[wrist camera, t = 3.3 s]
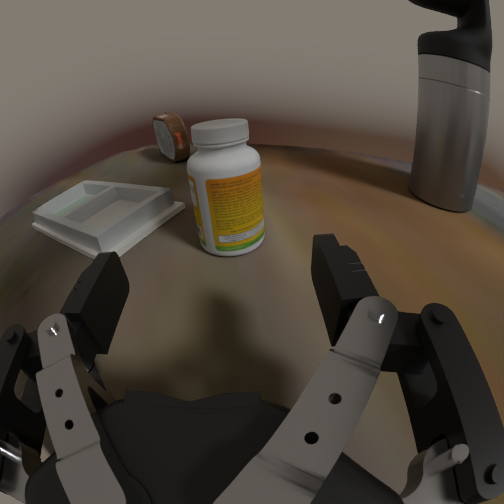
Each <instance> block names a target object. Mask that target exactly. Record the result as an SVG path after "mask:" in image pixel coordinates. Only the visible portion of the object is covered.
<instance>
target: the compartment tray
mask: <svg viewBox="0 0 504 504" xmlns="http://www.w3.org/2000/svg"><path fill="white" fill-rule="evenodd" d="M183 209H185V203H183V202H176V201H174V198H173V193H172V188H164V187H155V186H145V185H135V184H124V183H113V182H100V181H86V180H85V181H83V182H81V183H79V184H77V185H76V186H74V187H72V188H70V189H69V190H67V191H65V192H63V193H62V194H60V195H58V196H57V197H55V198H53V199H52V200H50V201H49V202H47V203H45V204H44V205H42V206H41V207H39V208H37V209H36V210H34V211H33V212H32V214H33V216H34V219H35V221H36V222H34V223H33V224H32V226H33V228H34V229H36V230H38V231H40V232H42V233H43V234H45V235H47V236H49V237H51V238H53V239H54V240H56V241H58V242H60V243H62V244H64V245H66V246H68V247H70V248H72V249H74V250H76V251H78V252H80V253H82V254H84V255H86V256H88V257H90V258H92V259H95V258H96V256H97V254H98V253H102V252H113V251H115V252H116V253H117V254H118V256H119V257H120V256H122V255H123V254H124V253H125V252H127V251H128V250H129V249H130V248H132V247H133V246H134V245H136V244H137V243H138V242H140V241H141V240H142V239H143V238H145V237H146V236H147V235H149V234H150V233H151V232H153V231H154V230H155V229H157V228H158V227H160V226H161V225H162V224H164V223H165V222H166V221H168V220H169V219H170V218H172V217H173V216H175V215H176V214H177V213H179V212H180V211H182V210H183Z"/></svg>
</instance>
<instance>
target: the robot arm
mask: <svg viewBox="0 0 504 504" xmlns="http://www.w3.org/2000/svg"><path fill="white" fill-rule="evenodd" d="M409 1H410V2H412V3H413V4H415V5H418V6H421V7H423V8H426V9H430V10H434V11H437V12H441V13H445V14H448V15H451V16H455V17H457V19H458V20H457V21H458V22H457V23H458V24H457V29H454V30H449V31H434V32H427V33H424V34H421V35H420V36H419V38H418V64H419V88H418V111H417V126H416V136H415V146H414V155H413V161H412V169H411V175H410V182H409V188H410V190H411V191H412V193H413V194H415V195H416V196H417V197H419V198H420V199H422V200H424V201H426V202H428V203H430V204H432V205H435V206H437V207H440V208H443V209H447V210H451V211H458V212H464V211H468V210H470V209H471V207H472V204H473V200H474V197H475V193H476V188H477V184H478V180H479V175H480V171H481V165H482V160H483V154H484V148H485V141H486V134H487V125H488V115H489V101H490V98H489V97H490V60H491V53H492V30H491V18H490V7H489V0H409ZM311 275H312V281H313V285H314V288H315V291H316V295H317V298H318V301H319V305H320V308H321V311H322V315H323V318H324V322H325V325H326V329H327V332H328V336H329V339H330V343H331V346H335V347H334V348H333V349H330V350H329V351H328V353H327V354H326V356H325V357H324V359H323V361H322V363H321V364H320V366H319V367H318V369H317V371H316V372H315V374H314V376H313V377H312V379H311V380H310V382H309V384H308V385H307V387H306V388H305V390H304V391H303V393H302V394H301V396H300V397H299V399H298V400H297V402H296V403H295V405H294V406H293V408H292V409H291V410H290V409H288V408H286V407H284V406H282V405H279V404H276V403H273V402H269V401H263V400H261V394H260V392H245V393H224V394H220V395H216V396H212V397H208V398H203V399H199V400H195V401H183V400H180V399H176V398H173V397H169V396H166V395H162V394H159V393H156V392H143V391H132V390H126V393H125V398H124V399H122V400H119V401H115V399H114V398H113V396H112V394H111V392H110V390H109V388H108V386H107V383H106V381H105V379H104V376H103V374H102V372H101V369H100V367H99V364H98V362H97V361H96V360H95V357H96V354H108V350H109V347H110V344H111V341H112V338H113V335H114V332H115V330H116V327H117V324H118V321H119V318H120V316H121V313H122V310H123V307H124V305H125V302H126V299H127V297H128V294H129V281H128V278H127V276H126V273H125V271H124V268H123V266H122V263H121V261H120V258H119V256H118V254H117V253H116V252H115V251H113V252H102V253H98V254H97V256H96V258H95V259H94V261H93V262H92V264H91V265H90V266H89V267H88V268H87V269H86V270H84V271H83V272H82V274H81V275H80V277H79V279H78V280H77V283H76V284H75V286H74V287H73V290H72V291H71V293H70V294H69V296H68V298H67V300H66V302H65V304H64V305H63V307H62V309H61V311H60V313H59V314H53V315H50V316H49V317H47V318H46V319H45V320H44V321H43V322H42V323H41V324H40V326H39V328H38V331H34V332H30V333H27V332H26V331H25V329H24V328H23V327H22V326H21V325H19V324H16V325H13V326H11V327H10V328H8V329H7V330H6V332H5V333H4V334H3V336H2V338H1V340H0V491H1V492H3V493H5V494H8V495H10V496H12V497H14V498H15V499H17V500H19V501H21V502H23V503H25V504H478V503H481V502H485V501H488V500H491V499H494V498H496V497H498V496H500V495H501V494H502V493H503V492H504V428H503V425H502V422H501V418H500V415H499V412H498V410H497V407H496V404H495V401H494V398H493V396H492V393H491V391H490V388H489V385H488V383H487V381H486V378H485V376H484V373H483V371H482V369H481V366H480V364H479V362H478V360H477V358H476V355H475V353H474V351H473V349H472V347H471V345H470V343H469V341H468V339H467V337H466V335H465V333H464V331H463V329H462V327H461V325H460V324H459V322H458V320H457V318H456V316H455V315H454V313H453V312H452V311H451V310H450V309H449V308H448V307H446V306H444V305H442V304H438V303H431V304H428V305H426V306H425V307H424V308H423V309H422V311H421V313H420V314H415V313H405V312H399V311H397V309H396V308H395V306H394V305H393V304H392V303H391V302H390V301H388V300H386V299H384V298H382V297H379V295H378V293H377V291H376V289H375V287H374V285H373V283H372V281H371V279H370V277H369V275H368V274H367V272H366V271H365V268H364V266H363V264H362V263H361V261H360V259H359V257H358V255H357V253H356V252H355V251H353V250H352V249H351V248H350V247H348V246H347V245H345V246H340V245H339V243H338V241H337V239H336V238H335V236H334V234H321V235H314V237H313V248H312V262H311ZM20 369H21V370H22V371H23V372H24V373H25V374H26V375H27V376H28V380H27V383H26V386H25V389H24V393H23V396H22V399H21V401H20V400H19V399H17V397H16V396H15V393H14V386H15V383H16V380H17V377H18V374H19V371H20ZM380 371H386V372H397V374H398V378H399V381H400V384H401V388H402V391H403V395H404V398H405V402H406V406H407V409H408V413H409V417H410V421H411V425H412V429H413V434H414V438H415V442H416V447H417V452H418V454H417V455H416V456H415V457H414V458H413V459H412V461H411V462H410V464H409V467H408V472H407V484H406V486H405V488H404V490H403V492H402V493H401V494H400V495H398V494H397V493H396V492H395V491H394V490H392V489H391V488H390V487H388V486H387V485H385V484H384V483H383V482H381V481H380V480H378V479H377V478H376V477H374V476H373V475H372V474H370V473H369V472H368V471H366V470H365V469H364V468H362V467H361V466H360V465H359V464H357V463H356V462H355V461H353V460H352V459H351V458H350V457H348V456H347V455H346V454H345V453H343V452H342V451H343V449H344V447H345V445H346V443H347V442H348V440H349V438H350V436H351V434H352V432H353V430H354V428H355V426H356V425H357V423H358V421H359V419H360V416H361V414H362V412H363V410H364V408H365V406H366V404H367V402H368V400H369V397H370V395H371V393H372V391H373V388H374V386H375V384H376V381H377V379H378V376H379V374H380ZM46 424H47V426H48V430H49V433H50V436H51V439H52V443H53V446H54V449H55V452H54V453H53V454H52V455H51V456H50V457H48V458H47V459H46V460H45V461H44V462H41V459H40V455H41V449H42V444H43V438H44V433H45V428H46Z"/></svg>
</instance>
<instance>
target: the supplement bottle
mask: <svg viewBox="0 0 504 504" xmlns="http://www.w3.org/2000/svg"><path fill="white" fill-rule="evenodd" d="M191 133H192V142H193V145H194V146H195V147H197V152H195V153H194V154H193V155H192V156H191V157H190V158H189V160H188V162H187V173H188V179H189V185H190V191H191V196H192V202H193V207H194V213H195V218H196V223H197V229H198V234H199V238H200V242H201V245H202V247H203V248H204V249H205V250H206V251H207V252H209V253H211V254H214V255H218V256H238V255H243V254H246V253H249V252H251V251H253V250H254V249H256V248H257V247H258V246H259V245H260V244H261V243H262V241H263V239H264V214H263V197H262V179H261V163H260V156H259V154H258V152H257V151H256V150H255V149H254V148H252V147H250V146H247V145H246V141H247V140H248V139H249V137H248V136H249V129H248V121H247V120H245V119H236V118H235V119H234V118H233V119H219V120H212V121H206V122H202V123H198V124H195V125H193V126H192V127H191Z"/></svg>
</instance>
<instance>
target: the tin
mask: <svg viewBox="0 0 504 504" xmlns="http://www.w3.org/2000/svg"><path fill="white" fill-rule="evenodd" d="M153 128H154V131H155V135H156V141H157V145H158V147H159V150H160V151H161V153H162V154H163V155H164V156H165V157H167V158H168V159H169V160H171V161H172V162H179V161H182V160H185V159H189V157H190V143H189V138H188V135H187V131H186V128H185V125H184V123H183V121H182V119H181V118H180V116H179V115H177V114H172V113H164V114H161V115H158V116H155V117H154V118H153Z"/></svg>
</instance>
